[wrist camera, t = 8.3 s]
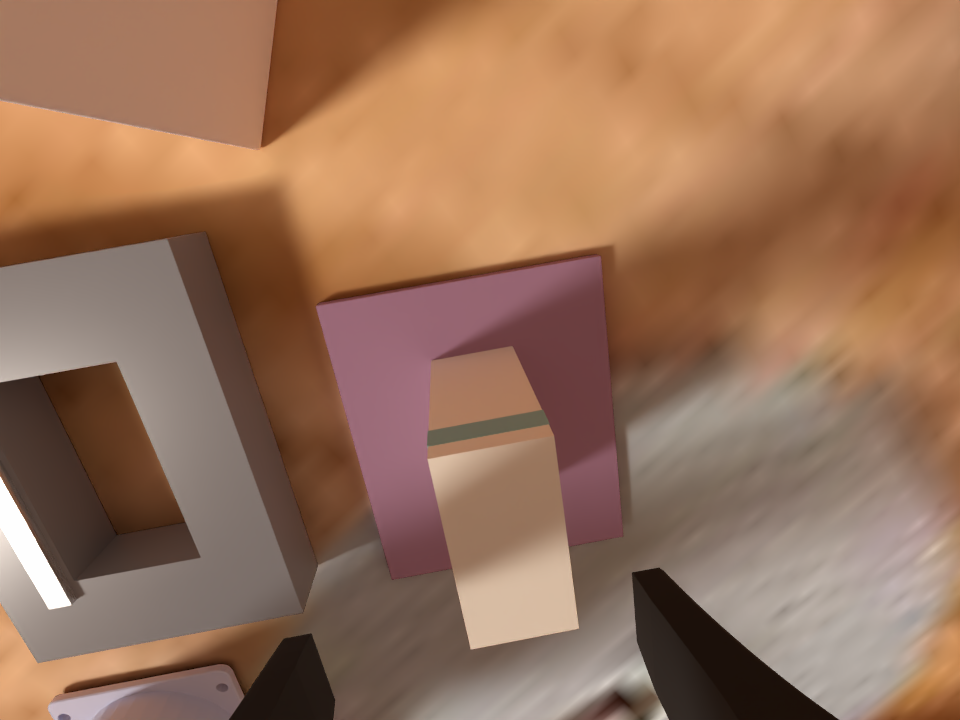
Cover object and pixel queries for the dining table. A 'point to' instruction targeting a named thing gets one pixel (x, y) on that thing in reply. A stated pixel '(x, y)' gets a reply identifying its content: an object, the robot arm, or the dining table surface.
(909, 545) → the dining table surface
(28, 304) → the grey rectangular frame
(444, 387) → the striped tan bar
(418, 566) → the mat
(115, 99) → the milk
